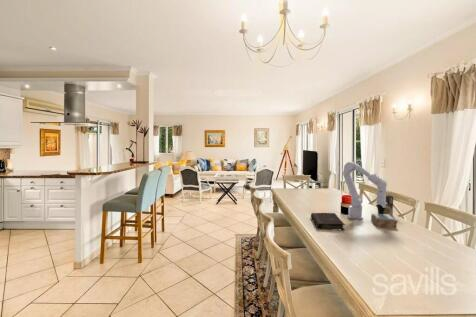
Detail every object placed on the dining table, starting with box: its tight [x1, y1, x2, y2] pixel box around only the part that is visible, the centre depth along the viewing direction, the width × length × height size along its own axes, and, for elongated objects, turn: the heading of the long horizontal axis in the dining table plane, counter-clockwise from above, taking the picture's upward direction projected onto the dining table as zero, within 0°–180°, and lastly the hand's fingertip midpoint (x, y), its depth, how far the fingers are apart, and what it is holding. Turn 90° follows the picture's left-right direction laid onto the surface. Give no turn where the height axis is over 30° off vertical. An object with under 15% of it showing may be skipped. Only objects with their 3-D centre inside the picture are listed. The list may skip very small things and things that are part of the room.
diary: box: [310, 212, 346, 231], centre depth 174 cm, size 19×25×5 cm
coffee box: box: [377, 194, 394, 217], centre depth 196 cm, size 9×6×16 cm
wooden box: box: [370, 213, 398, 229], centre depth 172 cm, size 12×13×5 cm
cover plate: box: [372, 213, 395, 221], centre depth 172 cm, size 10×11×2 cm
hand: (380, 214), depth 179 cm, fingers closed
